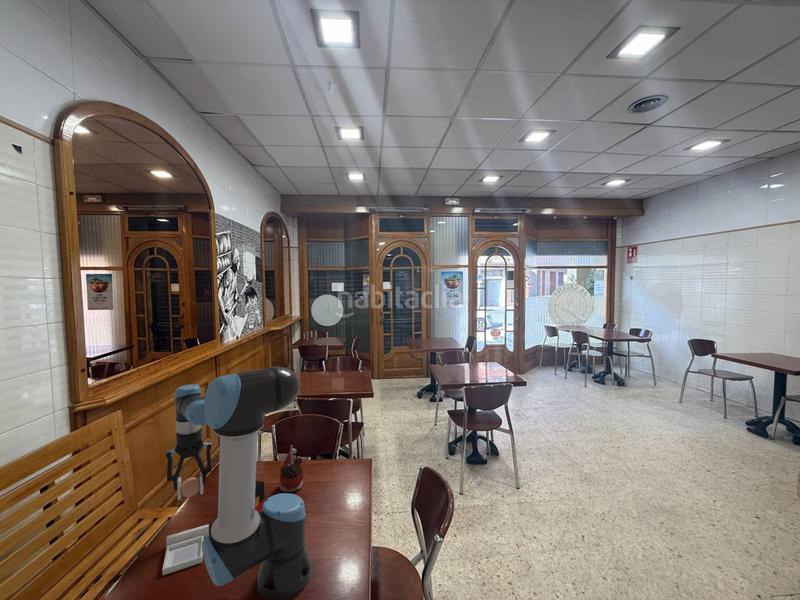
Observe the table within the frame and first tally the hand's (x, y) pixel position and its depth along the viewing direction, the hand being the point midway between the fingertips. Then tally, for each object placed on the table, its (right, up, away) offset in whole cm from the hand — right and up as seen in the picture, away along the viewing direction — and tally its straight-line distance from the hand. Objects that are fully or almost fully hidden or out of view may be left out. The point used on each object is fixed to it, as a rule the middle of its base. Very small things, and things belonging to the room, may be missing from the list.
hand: (190, 494), depth 118 cm
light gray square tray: (+5, -13, -11) cm, 18 cm away
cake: (+27, -12, +26) cm, 39 cm away
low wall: (+2, -13, -5) cm, 14 cm away
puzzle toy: (+15, -13, +9) cm, 21 cm away
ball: (0, 0, 0) cm, 0 cm away
